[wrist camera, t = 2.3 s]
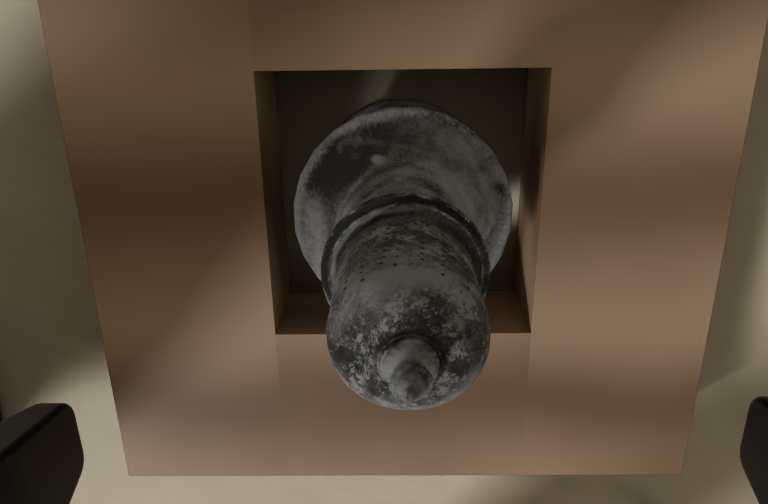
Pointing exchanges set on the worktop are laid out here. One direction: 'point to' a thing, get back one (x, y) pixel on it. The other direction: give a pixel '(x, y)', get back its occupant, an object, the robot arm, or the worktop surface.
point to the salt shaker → (404, 249)
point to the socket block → (310, 309)
